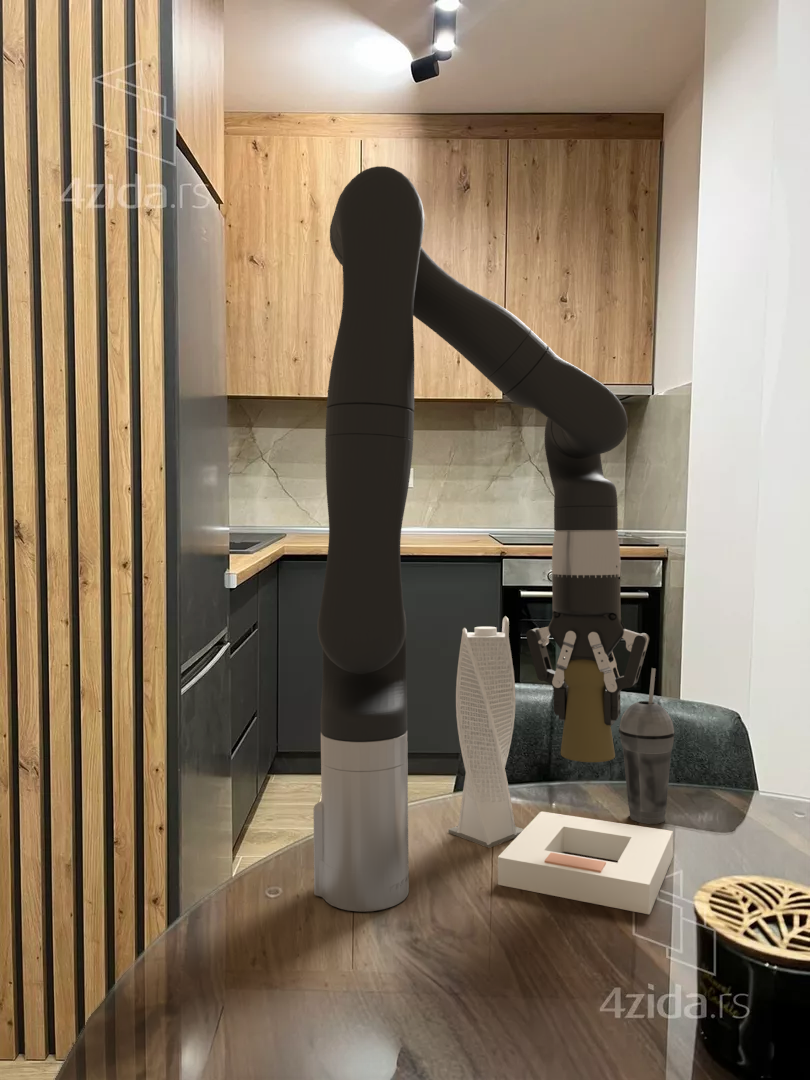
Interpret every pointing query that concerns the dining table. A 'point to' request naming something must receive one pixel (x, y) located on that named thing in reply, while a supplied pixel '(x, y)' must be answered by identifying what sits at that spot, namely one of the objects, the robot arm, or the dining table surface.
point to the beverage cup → (647, 758)
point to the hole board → (588, 861)
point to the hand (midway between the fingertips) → (587, 720)
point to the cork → (586, 715)
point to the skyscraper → (485, 734)
